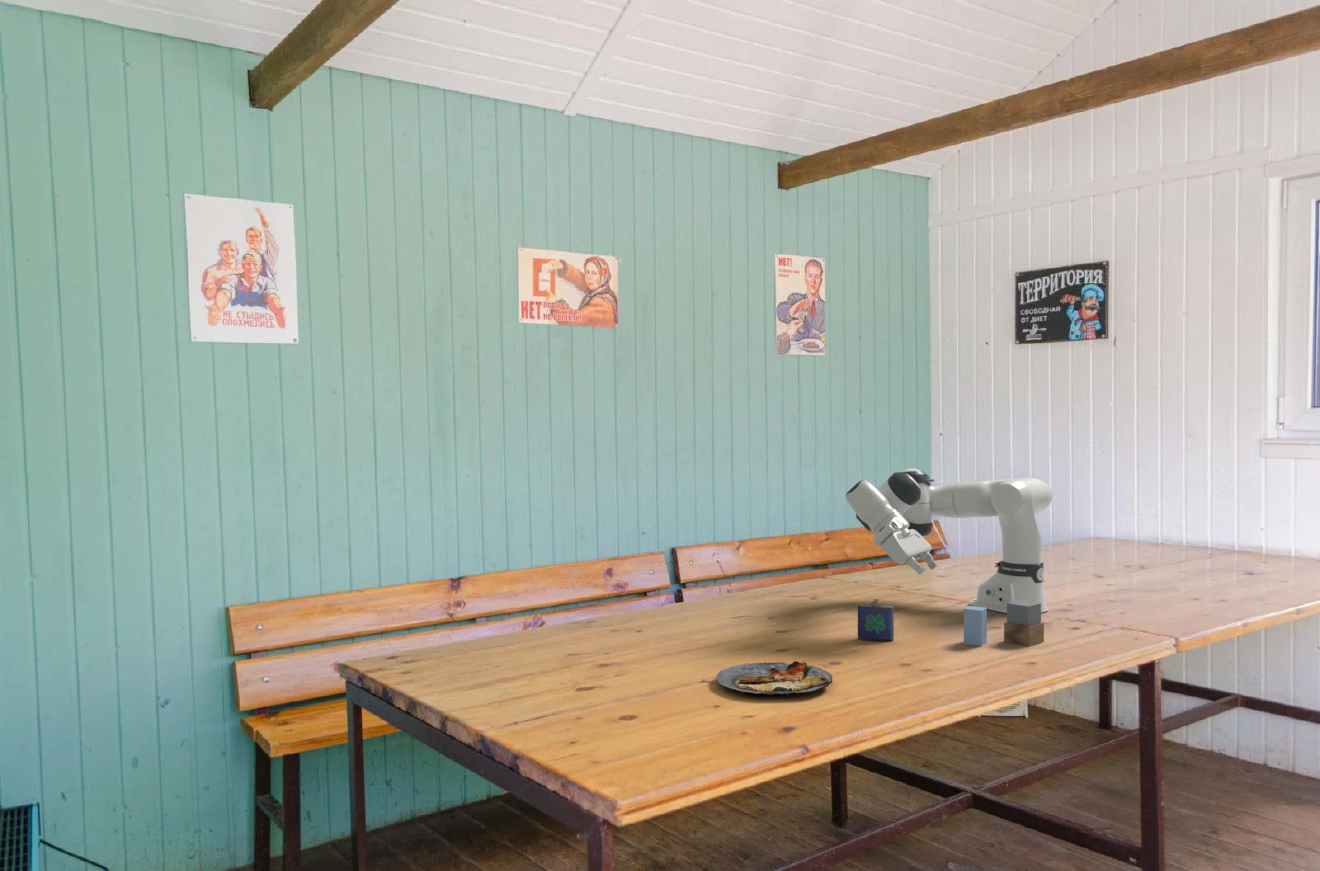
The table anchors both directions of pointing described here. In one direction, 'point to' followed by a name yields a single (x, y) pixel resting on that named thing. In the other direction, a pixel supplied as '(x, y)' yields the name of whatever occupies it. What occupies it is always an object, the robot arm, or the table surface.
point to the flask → (875, 622)
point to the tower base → (1024, 634)
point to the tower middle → (1024, 613)
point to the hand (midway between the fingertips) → (928, 570)
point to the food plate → (774, 678)
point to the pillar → (975, 625)
